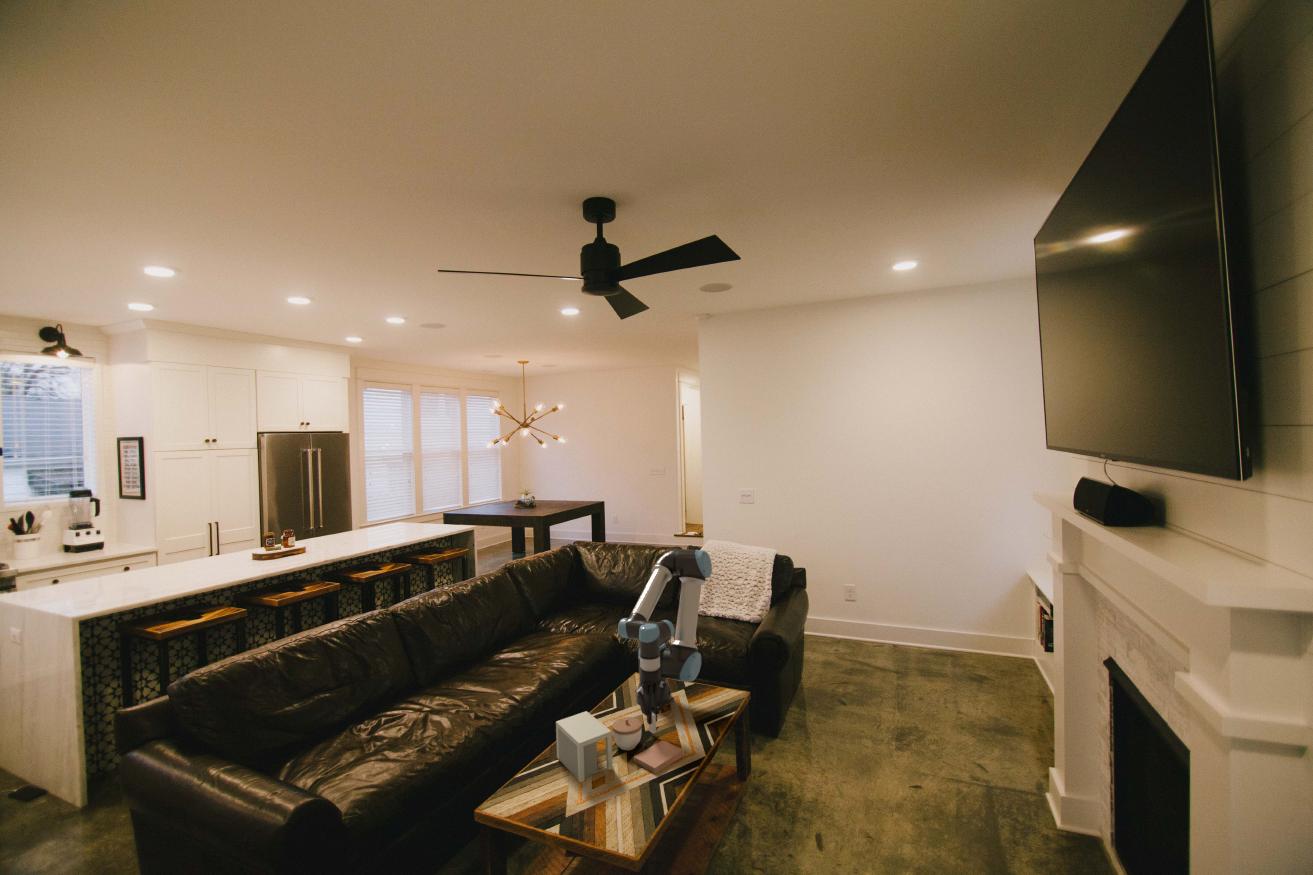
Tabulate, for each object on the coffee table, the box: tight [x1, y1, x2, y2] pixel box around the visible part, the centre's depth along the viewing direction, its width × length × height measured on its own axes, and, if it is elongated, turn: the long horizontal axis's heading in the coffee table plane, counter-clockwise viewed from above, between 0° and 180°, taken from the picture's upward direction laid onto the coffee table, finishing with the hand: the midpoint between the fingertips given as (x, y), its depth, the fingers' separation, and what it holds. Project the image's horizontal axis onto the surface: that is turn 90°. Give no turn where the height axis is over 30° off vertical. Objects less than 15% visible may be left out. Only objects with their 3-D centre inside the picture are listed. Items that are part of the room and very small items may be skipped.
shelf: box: [555, 710, 614, 783], centre depth 185 cm, size 12×18×12 cm, turn 35°
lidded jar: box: [611, 716, 643, 751], centre depth 195 cm, size 11×11×9 cm
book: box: [633, 739, 684, 775], centre depth 185 cm, size 14×10×2 cm
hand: (652, 731), depth 201 cm, fingers closed
